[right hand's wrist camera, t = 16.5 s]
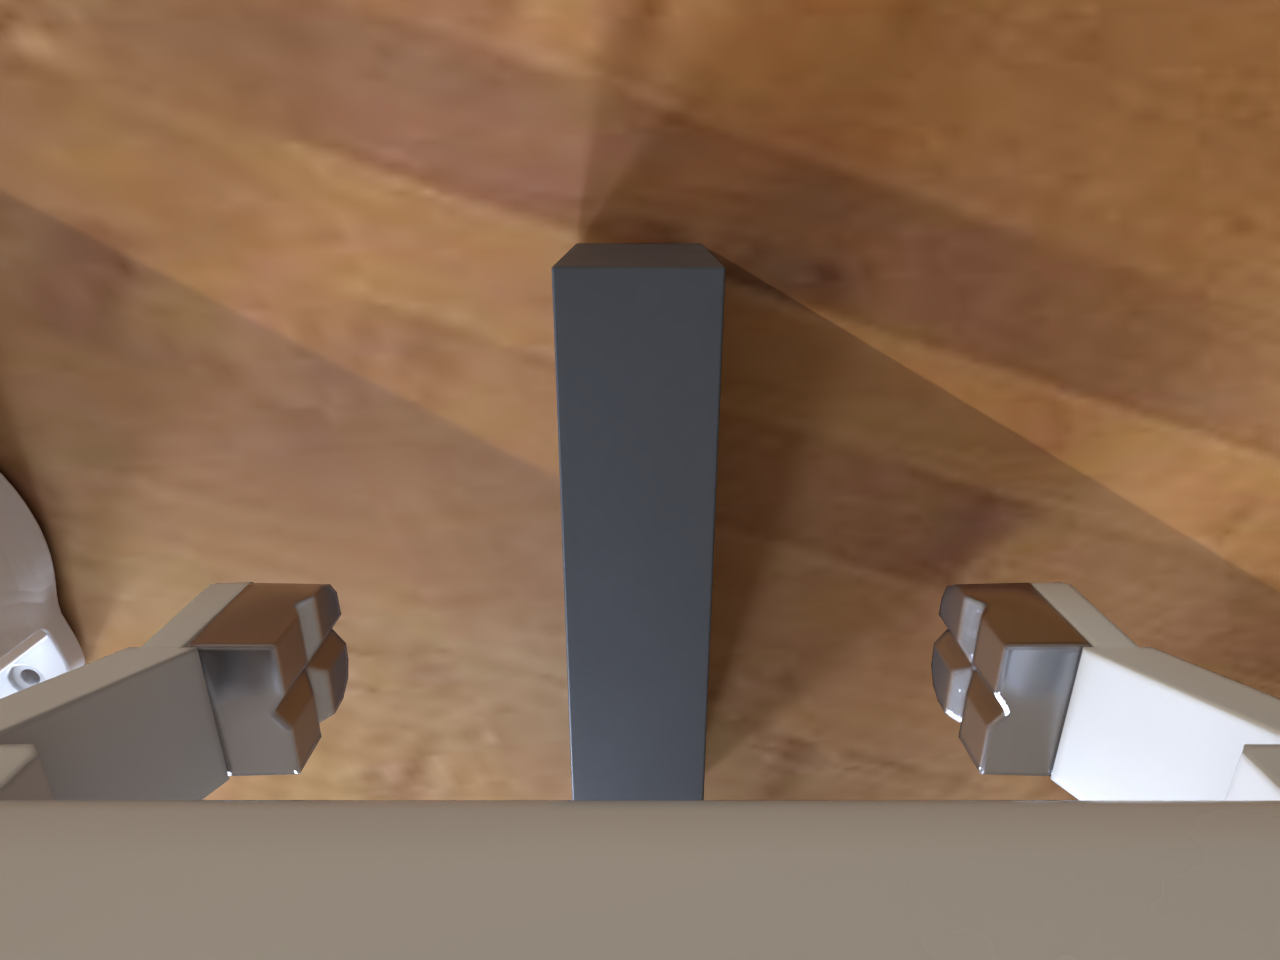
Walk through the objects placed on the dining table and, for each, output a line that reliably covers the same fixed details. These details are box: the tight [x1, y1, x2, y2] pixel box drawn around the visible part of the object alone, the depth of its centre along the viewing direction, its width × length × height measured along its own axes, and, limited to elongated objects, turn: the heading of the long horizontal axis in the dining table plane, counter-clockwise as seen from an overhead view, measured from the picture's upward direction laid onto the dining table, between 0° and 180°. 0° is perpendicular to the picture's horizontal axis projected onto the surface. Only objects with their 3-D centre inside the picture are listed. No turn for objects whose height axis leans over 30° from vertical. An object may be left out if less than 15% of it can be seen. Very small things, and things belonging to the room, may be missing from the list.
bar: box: [552, 244, 726, 800], centre depth 30 cm, size 27×5×9 cm, turn 0°
